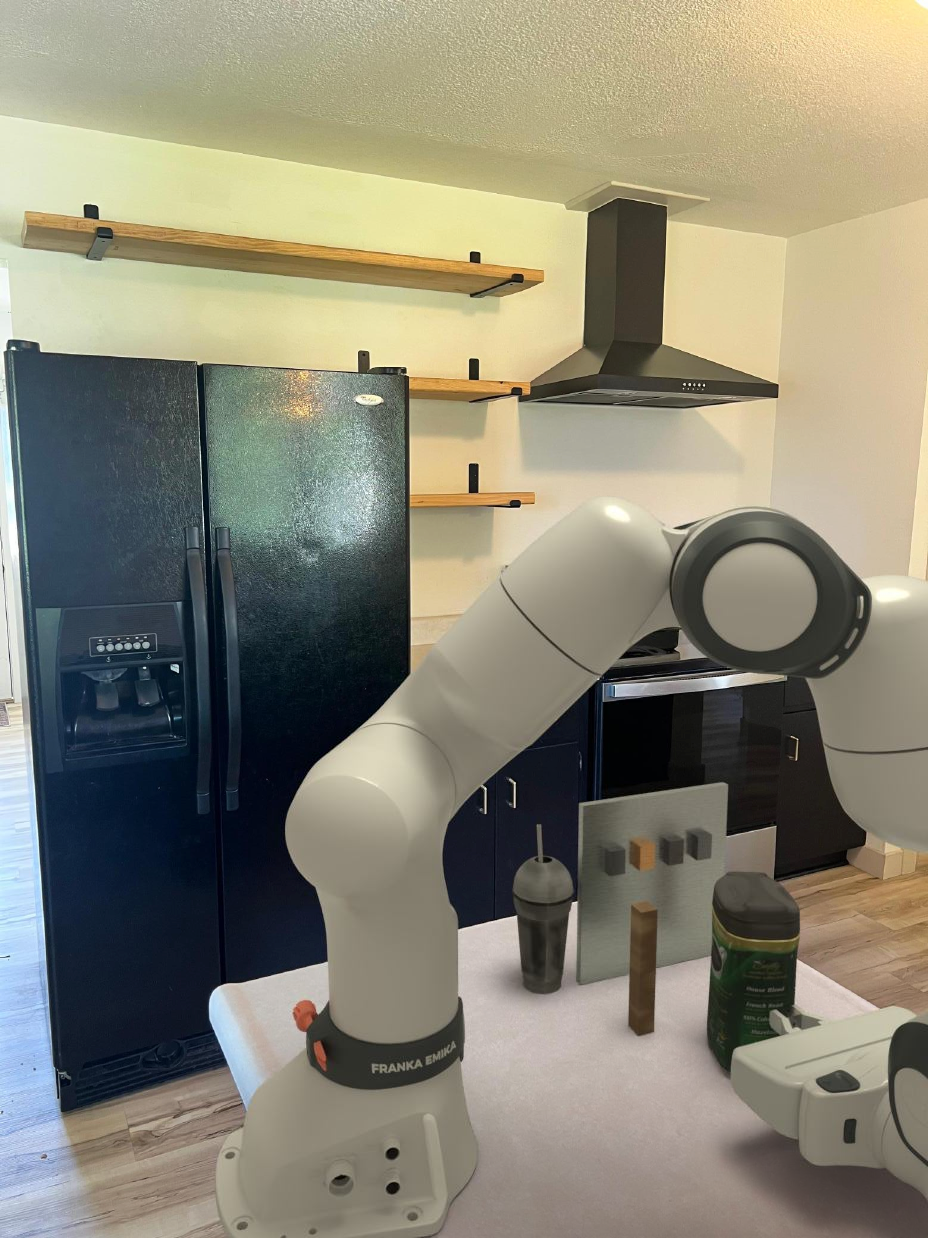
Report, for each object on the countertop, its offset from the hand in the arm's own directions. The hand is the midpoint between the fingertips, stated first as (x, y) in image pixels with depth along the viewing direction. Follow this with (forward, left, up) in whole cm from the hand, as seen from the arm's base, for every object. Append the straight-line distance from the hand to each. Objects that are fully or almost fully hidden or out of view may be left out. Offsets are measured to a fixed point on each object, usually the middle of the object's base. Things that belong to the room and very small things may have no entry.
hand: (781, 1014), depth 87 cm
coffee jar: (0, +4, -7) cm, 8 cm away
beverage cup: (-14, +24, -7) cm, 29 cm away
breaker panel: (0, +23, -7) cm, 24 cm away
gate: (0, +12, -7) cm, 14 cm away
